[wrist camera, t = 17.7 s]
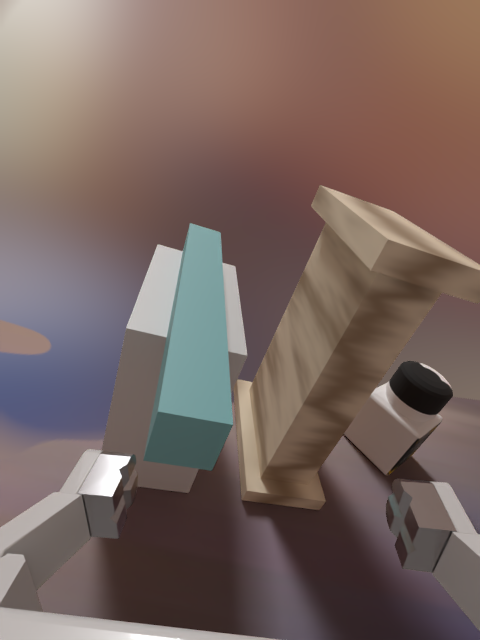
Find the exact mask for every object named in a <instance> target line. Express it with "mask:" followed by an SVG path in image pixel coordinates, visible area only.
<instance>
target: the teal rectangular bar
mask: <svg viewBox="0 0 480 640" xmlns="http://www.w3.org/2000/svg"><path fill="white" fill-rule="evenodd" d="M232 426H233V418H232V403H231V387H230V372H229V357H228V341H227V326H226V311H225V295H224V280H223V265H222V250H221V234H220V232H217V231H214V230H211V229H208V228H204V227H201V226H197V225H194V224H191V223H190V226H189V230H188V234H187V237H186V241H185V245H184V249H183V253H182V258H181V264H180V269H179V274H178V279H177V285H176V290H175V295H174V301H173V306H172V311H171V316H170V322H169V327H168V332H167V338H166V343H165V348H164V353H163V359H162V364H161V369H160V374H159V380H158V385H157V390H156V396H155V401H154V406H153V411H152V417H151V422H150V427H149V433H148V438H147V443H146V448H145V454H144V459H143V461H149V462H156V463H162V464H169V465H176V466H183V467H190V468H197V469H204V470H210V471H212V469H213V467H214V465H215V463H216V461H217V459H218V456H219V454H220V452H221V450H222V448H223V446H224V443H225V441H226V439H227V437H228V435H229V432H230V430H231V428H232Z"/></svg>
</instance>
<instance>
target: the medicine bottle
mask: <svg viewBox="0 0 480 640" xmlns="http://www.w3.org/2000/svg"><path fill="white" fill-rule="evenodd" d="M452 396H453V392H452V388H451V386H450V384H449V383H448V382H447V381H446V379H445V378H444V377H443V376H442V375H441V374H439V373H438V372H437V371H435V370H434V369H432V368H431V367H429V366H427V365H424V364H422V363H418V362H414V361H407V362H403V363H402V364H401V365H400V367H399V368H398V370H397V371H396V372H395V374H394V375H393V376H392V378H391V379H390V381H389V382H388V383H386V384H384V385H382V386H380V387H378V388H376V389H375V390H374V391H373V392H372V394H371V395H370V397H369V398H368V400H367V401H366V403H365V404H364V405H363V407H362V408H361V410H360V411H359V413H358V414H357V415H356V417H355V418H354V420H353V421H352V423H351V424H350V425H349V427H348V428H347V430H346V431H345V433H344V435H345V436H346V437H347V438H348V439H349V440H350V441H351V442H352V443H353V444H354V445H355V446H356V447H357V448H358V449H359V450H360V451H361V452H362V453H363V454H364V455H365V456H366V457H367V458H368V459H369V460H370V461H371V462H372V463H373V464H374V465H375V466H376V467H377V468H378V469H379V470H380V471H381V472H382V473H384V474H385V475H389V474H390V473H392V472H393V471H394V470H395V469H396V468H397V467H399V466H400V465H401V464H402V463H403V462H405V461H406V460H407V459H408V458H409V457H410V456H412V455H413V454H414V452H415V451H416V450H417V449H418V448H419V447H420V446H421V444H422V443H423V442H424V441H425V440H426V439H427V438H428V436H429V435H430V434H431V433H432V432H433V431H434V430H435V428H436V427H437V426H438V425H439V424H440V423H441V422H442V420H443V419H442V417H441V416H440V415H439V414H438V413H439V412H440V411H441V409H442V408H443V407H444V406H445V405H446V404H447V402H448V401H449V400H450V399H451V398H452Z"/></svg>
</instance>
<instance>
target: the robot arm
mask: <svg viewBox="0 0 480 640" xmlns="http://www.w3.org/2000/svg"><path fill="white" fill-rule="evenodd" d="M135 465H136V456H135V455H134V454H128V453H119V452H111V451H101V450H92V449H88V450H86V451H85V452H84V453H83V455H82V456H81V458H80V459H79V461H78V463H77V464H76V466H75V467H74V469H73V471H72V472H71V474H70V475H69V477H68V479H67V480H66V482H65V483H64V485H63V487H62V488H61V490H60V491H59V492H53V493H52V494H50V495H49V496H47V497H46V498H44V499H43V500H41V501H40V502H38V503H37V504H35V505H34V506H32V507H31V508H29V509H28V510H26V511H25V512H23V513H22V514H20V515H19V516H17V517H16V518H14V519H13V520H11V521H9V522H8V523H6V524H5V525H3V526H2V527H0V640H279V639H271V638H262V637H253V636H245V635H236V634H228V633H219V632H210V631H202V630H193V629H184V628H176V627H167V626H159V625H150V624H141V623H133V622H124V621H116V620H107V619H98V618H90V617H81V616H73V615H64V614H55V613H47V612H43V610H42V606H41V603H40V601H39V598H38V595H37V592H36V591H37V590H38V589H39V588H40V587H41V586H42V585H43V584H44V583H45V582H46V581H47V580H48V579H49V578H50V577H51V576H52V575H53V574H54V573H55V572H56V571H57V570H58V569H59V568H60V567H62V566H63V565H64V564H65V563H66V562H67V561H68V560H69V559H70V558H71V557H72V556H73V555H74V554H75V553H76V552H77V551H78V550H79V549H80V548H81V547H82V546H83V545H84V544H85V543H86V542H87V541H88V540H90V537H102V538H116V539H119V537H120V534H121V532H122V529H123V527H124V524H125V522H126V519H127V514H126V509H127V508H128V507H130V506H131V505H132V504H133V501H134V498H135V495H136V491H137V486H138V473H137V472H136V471H135V470H134V467H135ZM392 490H393V492H394V493H393V494H392V495H391V496H389V497H388V500H387V503H386V517H387V523H388V526H389V529H390V531H391V532H392V533H393V534H394V535H395V536H396V537H397V540H396V543H395V548H396V551H397V554H398V557H399V560H400V563H401V566H402V569H409V570H416V571H423V572H431V573H433V576H434V577H435V578H436V579H437V580H438V582H439V583H440V584H441V585H442V586H443V588H444V589H445V590H446V591H447V592H448V594H449V595H450V596H451V597H452V598H453V600H454V601H455V602H456V603H457V604H458V606H459V607H460V608H461V609H462V610H463V612H464V613H465V614H466V615H467V616H468V618H469V619H470V620H471V621H472V622H473V624H474V625H475V626H476V627H477V628H478V630H479V631H480V534H477V532H476V531H475V529H474V527H473V525H472V523H471V522H470V520H469V518H468V516H467V514H466V513H465V511H464V509H463V507H462V505H461V504H460V502H459V500H458V498H457V497H456V495H455V493H454V491H453V489H452V488H451V486H450V485H449V484H448V483H442V482H431V481H430V482H429V481H421V480H409V479H397V478H396V479H395V480H394V481H393V484H392Z"/></svg>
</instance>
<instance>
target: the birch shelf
mask: <svg viewBox="0 0 480 640" xmlns="http://www.w3.org/2000/svg"><path fill="white" fill-rule="evenodd" d="M311 207H312V208H313V209H314V210H315V211H316V212H317V213H318V214H319V215H320V216H321V217H322V218H323V220H325V222H326V224H325V226H324V228H323V230H322V233H321V235H320V237H319V239H318V241H317V244H316V245H315V248H314V250H313V252H312V254H311V256H310V259H309V261H308V263H307V265H306V267H305V269H304V272H303V274H302V276H301V278H300V280H299V283H298V285H297V287H296V289H295V291H294V293H293V296H292V298H291V300H290V302H289V304H288V306H287V309H286V311H285V313H284V315H283V317H282V320H281V322H280V324H279V326H278V328H277V331H276V333H275V335H274V337H273V339H272V341H271V344H270V346H269V348H268V350H267V352H266V354H265V357H264V359H263V361H262V363H261V365H260V368H259V370H258V372H257V374H256V376H255V379H254V381H253V382H248V381H243V380H238V379H237V381H236V383H235V386H234V388H233V390H234V404H235V417H236V431H237V445H238V459H239V472H240V486H241V500H245V501H252V502H260V503H268V504H275V505H283V506H291V507H298V508H306V509H313V510H320V509H321V507H322V506H323V505H324V503H325V502H326V500H325V497H324V493H323V490H322V486H321V482H320V479H319V475H318V472H317V471H318V470H319V468H320V467H321V466H322V464H323V463H324V461H325V460H326V458H327V457H328V456H329V454H330V453H331V451H332V450H333V448H334V447H335V446H336V444H337V443H338V441H339V440H340V438H341V437H342V436H343V434H344V433H345V431H346V430H347V428H348V427H349V425H350V424H351V423H352V421H353V420H354V418H355V417H356V415H357V414H358V413H359V411H360V410H361V408H362V407H363V405H364V404H365V403H366V401H367V400H368V398H369V397H370V395H371V394H372V392H373V391H374V390H375V388H376V387H377V385H378V383H379V382H380V381H381V380H382V378H383V377H384V375H385V374H386V372H387V371H388V370H389V368H390V367H391V365H392V364H393V362H394V361H395V360H396V358H397V357H398V355H399V354H400V352H401V351H402V349H403V348H404V347H405V345H406V344H407V342H408V341H409V339H410V338H411V336H412V335H413V333H414V332H415V331H416V329H417V328H418V326H419V325H420V324H421V322H422V321H423V319H424V318H425V316H426V315H427V314H428V312H429V311H430V309H431V308H432V306H433V305H434V303H435V302H436V301H437V299H438V298H439V296H440V295H441V293H445V294H448V295H451V296H455V297H458V298H461V299H464V300H468V301H471V302H474V303H477V304H478V303H479V302H480V265H479V264H478V263H476V262H474V261H473V260H471V259H469V258H468V257H466V256H465V255H463V254H461V253H460V252H458V251H457V250H455V249H453V248H452V247H450V246H448V245H447V244H445V243H443V242H442V241H440V240H439V239H437V238H436V237H434V236H432V235H431V234H429V233H427V232H426V231H424V230H423V229H421V228H419V227H418V226H416V225H414V224H413V223H411V222H410V221H408V220H406V219H405V218H403V217H402V216H400V215H398V214H397V213H395V212H394V211H391V210H388V209H385V208H383V207H380V206H377V205H374V204H371V203H369V202H365V201H363V200H360V199H357V198H355V197H352V196H349V195H346V194H343V193H341V192H338V191H335V190H332V189H329V188H327V187H324V186H321V185H320V186H319V189H318V191H317V193H316V196H315V198H314V200H313V203H312V205H311Z"/></svg>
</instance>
